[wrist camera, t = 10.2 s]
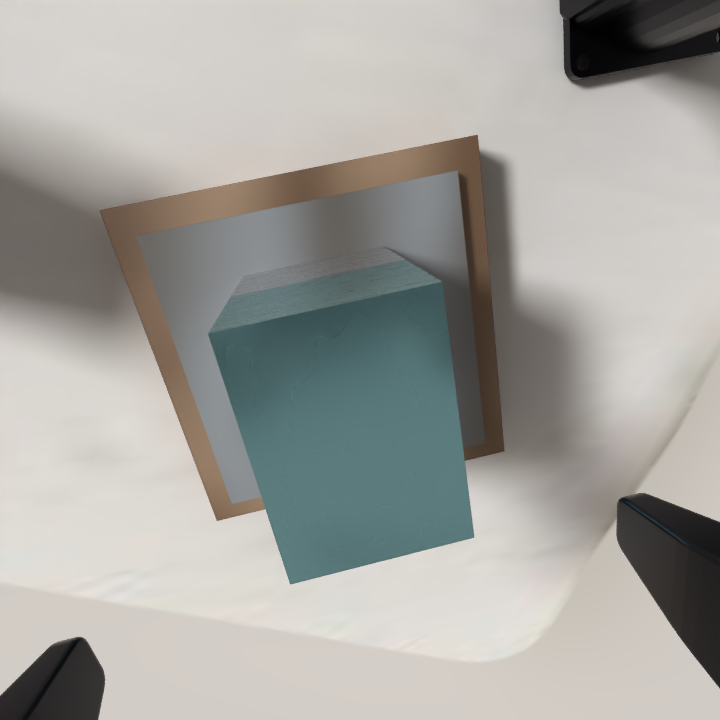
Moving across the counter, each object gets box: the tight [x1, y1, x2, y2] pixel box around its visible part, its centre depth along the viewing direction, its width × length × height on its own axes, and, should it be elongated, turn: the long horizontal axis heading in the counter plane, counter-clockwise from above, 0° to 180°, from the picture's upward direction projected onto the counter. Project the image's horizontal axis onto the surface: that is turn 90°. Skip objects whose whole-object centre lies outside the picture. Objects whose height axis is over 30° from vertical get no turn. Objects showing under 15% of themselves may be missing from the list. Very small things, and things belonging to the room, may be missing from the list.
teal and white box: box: [208, 246, 474, 584], centre depth 14 cm, size 7×5×7 cm
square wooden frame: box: [100, 135, 504, 521], centre depth 18 cm, size 13×13×2 cm
